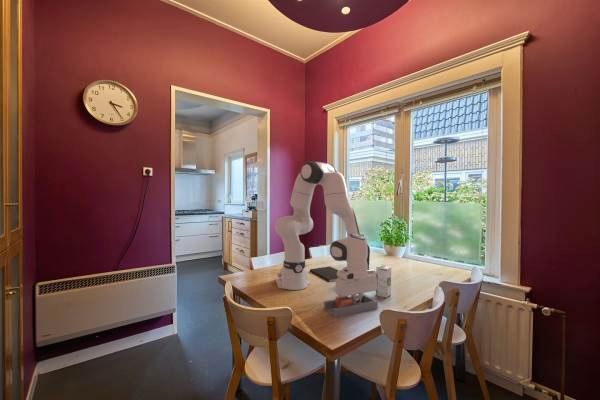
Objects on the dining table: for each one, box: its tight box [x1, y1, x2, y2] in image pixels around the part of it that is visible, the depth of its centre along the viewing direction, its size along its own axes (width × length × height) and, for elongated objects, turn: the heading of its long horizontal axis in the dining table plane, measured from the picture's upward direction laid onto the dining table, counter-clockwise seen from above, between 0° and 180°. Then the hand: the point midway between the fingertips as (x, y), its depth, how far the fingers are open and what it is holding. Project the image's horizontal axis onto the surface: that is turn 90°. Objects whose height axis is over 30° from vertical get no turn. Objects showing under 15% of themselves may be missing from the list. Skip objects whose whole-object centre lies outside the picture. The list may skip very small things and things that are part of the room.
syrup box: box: [375, 264, 392, 299], centre depth 126 cm, size 6×6×14 cm
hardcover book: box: [309, 266, 340, 283], centre depth 159 cm, size 16×23×2 cm
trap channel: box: [323, 293, 379, 319], centre depth 108 cm, size 9×21×4 cm, turn 114°
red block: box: [335, 295, 353, 308], centre depth 107 cm, size 5×5×5 cm
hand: (356, 303), depth 110 cm, fingers closed
